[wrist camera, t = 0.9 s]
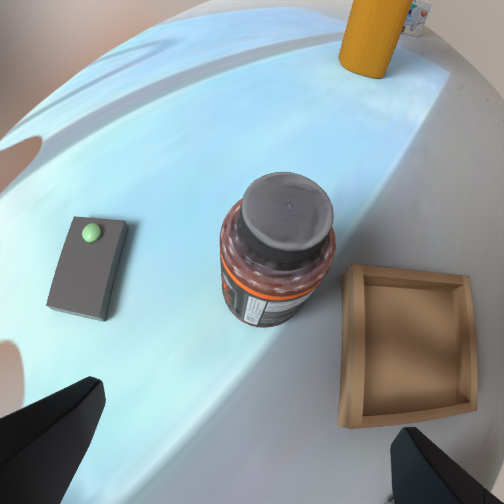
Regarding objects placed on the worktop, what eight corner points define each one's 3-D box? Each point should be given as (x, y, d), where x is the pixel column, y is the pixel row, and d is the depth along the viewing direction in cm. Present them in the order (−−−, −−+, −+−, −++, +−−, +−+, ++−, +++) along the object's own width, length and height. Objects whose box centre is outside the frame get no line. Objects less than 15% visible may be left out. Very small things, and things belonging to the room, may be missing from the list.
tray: (458, 411, 19) (476, 410, 17) (337, 425, 19) (350, 428, 17) (452, 286, 24) (468, 276, 22) (341, 276, 24) (352, 263, 22)
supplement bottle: (218, 257, 24) (213, 155, 14) (294, 251, 25) (335, 152, 15) (226, 334, 22) (223, 277, 11) (307, 324, 22) (372, 263, 12)
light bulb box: (388, 31, 50) (401, -7, 41) (372, 19, 53) (382, -17, 43) (420, 37, 52) (433, 4, 43) (403, 25, 55) (415, -7, 45)
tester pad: (104, 321, 21) (96, 316, 20) (53, 309, 21) (43, 304, 19) (128, 228, 25) (123, 218, 23) (79, 223, 24) (72, 213, 23)
